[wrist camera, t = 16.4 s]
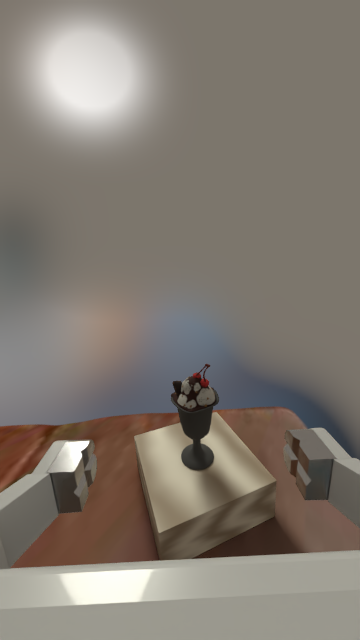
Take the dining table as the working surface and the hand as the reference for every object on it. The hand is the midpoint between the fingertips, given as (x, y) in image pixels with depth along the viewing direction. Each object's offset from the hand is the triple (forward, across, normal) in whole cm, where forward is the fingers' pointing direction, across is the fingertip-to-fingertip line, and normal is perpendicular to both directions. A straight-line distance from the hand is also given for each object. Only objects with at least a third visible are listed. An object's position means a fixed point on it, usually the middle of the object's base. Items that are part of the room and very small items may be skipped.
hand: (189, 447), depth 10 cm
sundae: (+21, -2, +21) cm, 29 cm away
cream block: (+21, -2, +27) cm, 34 cm away
